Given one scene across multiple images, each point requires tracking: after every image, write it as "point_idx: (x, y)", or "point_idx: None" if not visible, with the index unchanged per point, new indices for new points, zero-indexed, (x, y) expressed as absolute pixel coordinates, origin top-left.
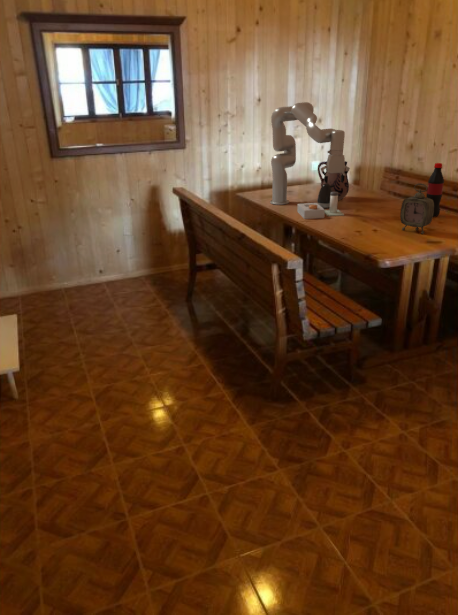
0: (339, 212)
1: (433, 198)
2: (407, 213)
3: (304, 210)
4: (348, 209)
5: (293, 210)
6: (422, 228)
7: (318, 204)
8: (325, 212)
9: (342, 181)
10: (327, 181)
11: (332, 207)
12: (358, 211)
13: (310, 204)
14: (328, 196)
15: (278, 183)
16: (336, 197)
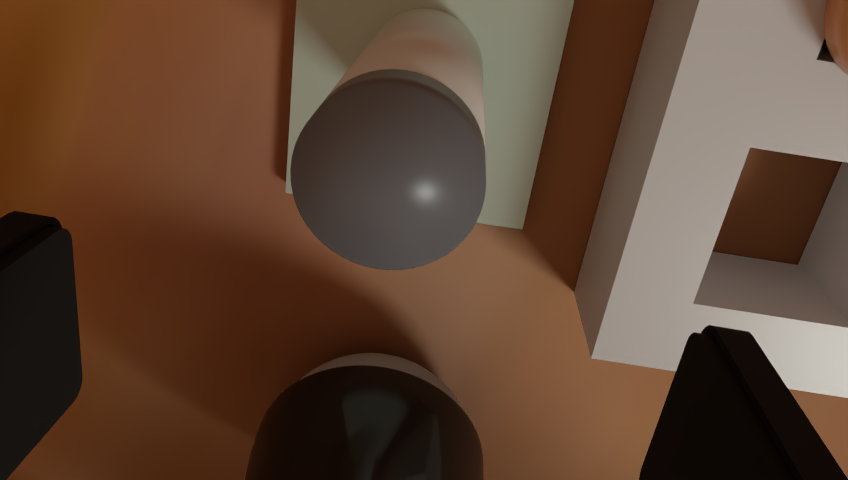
0: (333, 19)
1: None
2: None
3: None
4: (122, 209)
5: (834, 411)
6: None
7: (624, 254)
8: (541, 99)
9: (30, 237)
10: (711, 361)
11: (459, 40)
12: (9, 50)
13: (738, 308)
14: (355, 445)
15: None
16: (374, 64)
